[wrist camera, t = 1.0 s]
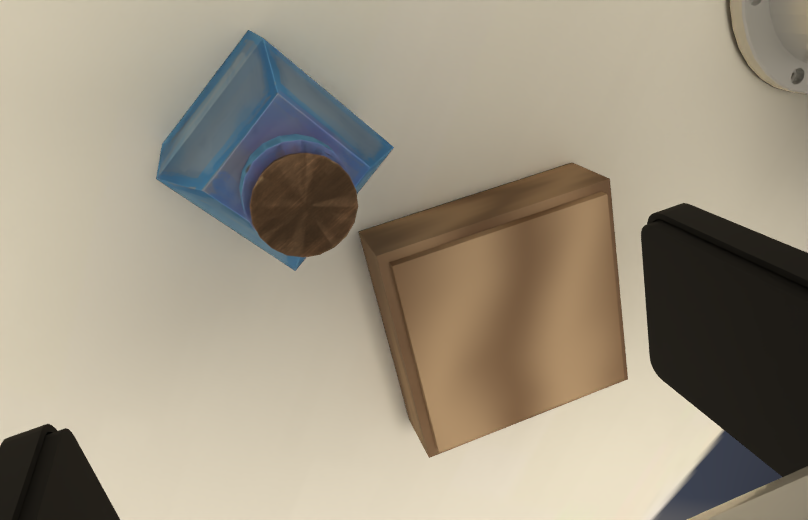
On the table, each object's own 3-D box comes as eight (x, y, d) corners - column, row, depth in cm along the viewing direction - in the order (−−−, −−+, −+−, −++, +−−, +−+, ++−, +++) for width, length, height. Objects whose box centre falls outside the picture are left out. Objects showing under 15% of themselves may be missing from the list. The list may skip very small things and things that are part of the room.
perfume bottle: (276, 223, 32) (321, 338, 21) (162, 144, 29) (147, 230, 18) (357, 120, 31) (445, 185, 20) (248, 30, 28) (285, 50, 18)
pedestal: (572, 162, 35) (615, 181, 32) (593, 349, 40) (633, 383, 37) (358, 231, 33) (379, 260, 29) (409, 420, 38) (432, 463, 35)
